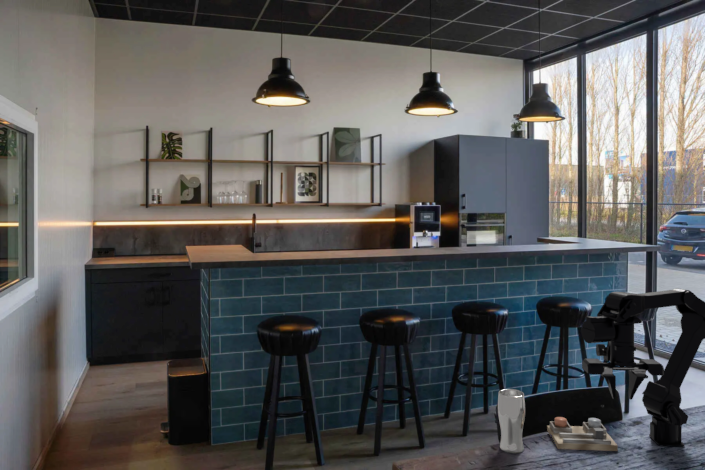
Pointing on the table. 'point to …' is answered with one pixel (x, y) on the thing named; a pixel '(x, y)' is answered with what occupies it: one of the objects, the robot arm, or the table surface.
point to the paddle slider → (598, 433)
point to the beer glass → (511, 419)
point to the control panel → (580, 438)
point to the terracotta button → (560, 422)
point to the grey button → (594, 422)
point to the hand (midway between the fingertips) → (621, 398)
